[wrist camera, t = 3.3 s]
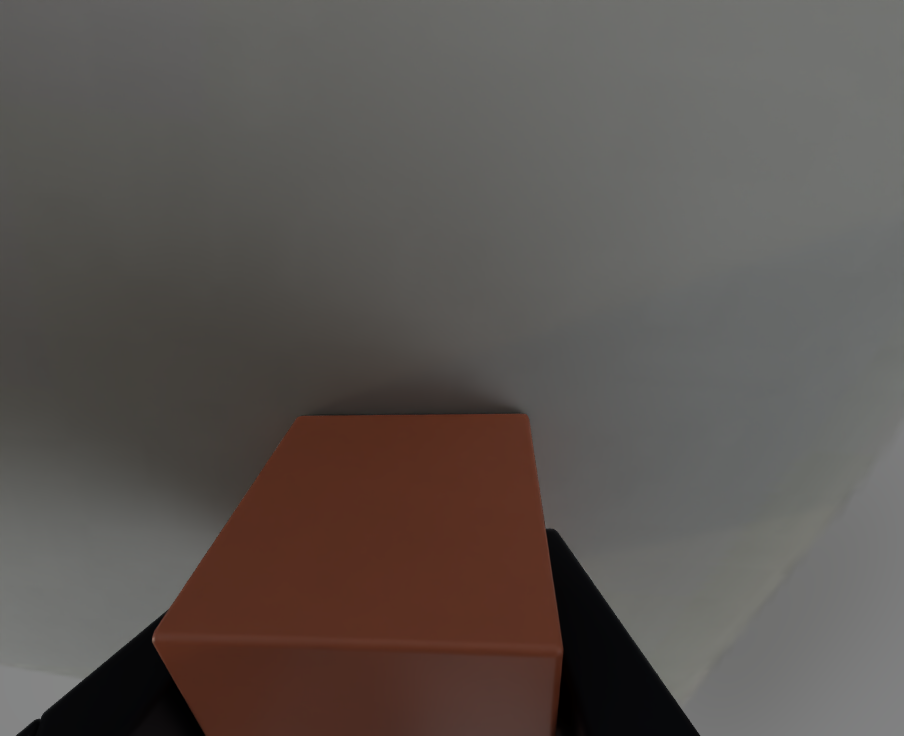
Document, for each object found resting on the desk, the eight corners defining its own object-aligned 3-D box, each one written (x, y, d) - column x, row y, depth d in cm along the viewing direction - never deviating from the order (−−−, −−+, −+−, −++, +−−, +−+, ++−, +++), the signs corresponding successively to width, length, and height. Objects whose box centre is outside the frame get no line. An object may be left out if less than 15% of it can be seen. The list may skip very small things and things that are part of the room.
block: (524, 575, 9) (548, 841, 6) (336, 571, 10) (249, 821, 6) (528, 411, 8) (565, 653, 4) (297, 413, 8) (144, 638, 4)
